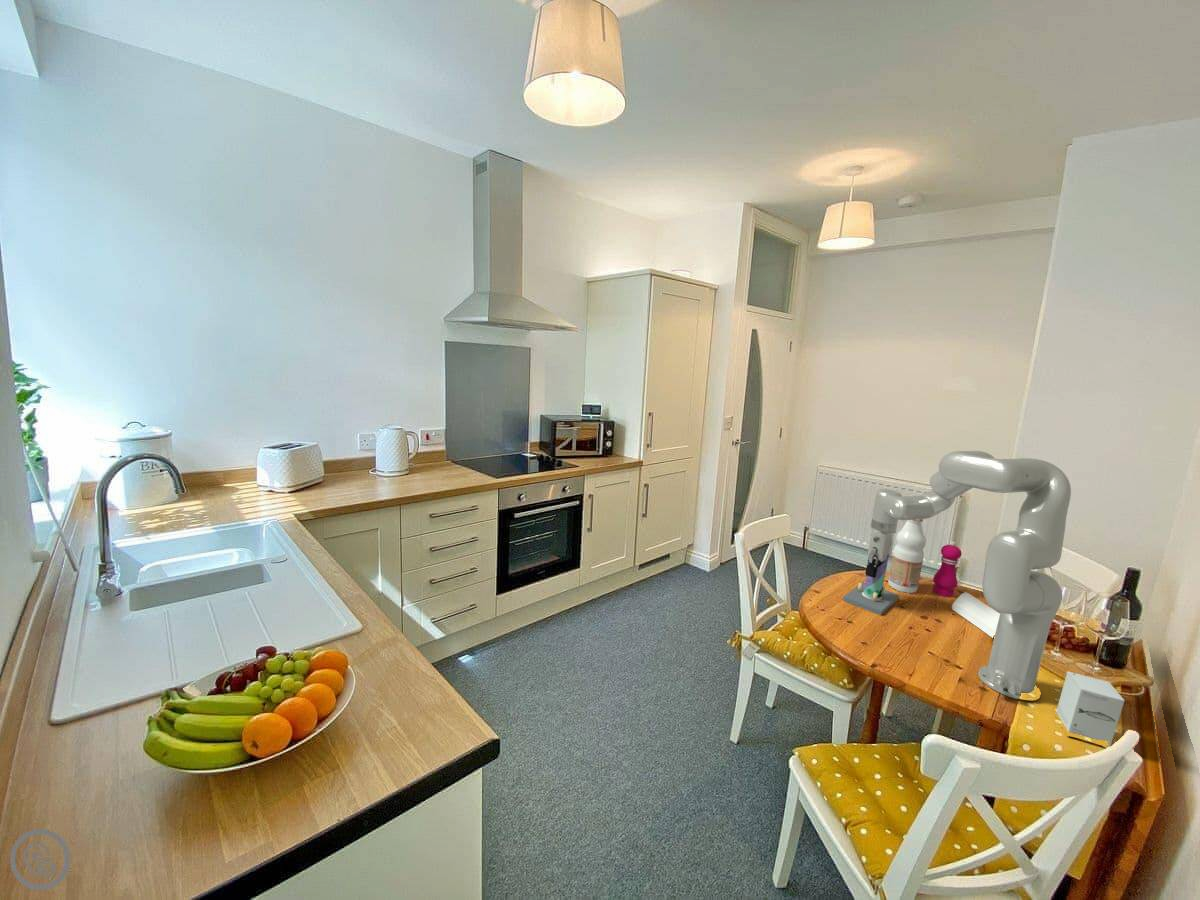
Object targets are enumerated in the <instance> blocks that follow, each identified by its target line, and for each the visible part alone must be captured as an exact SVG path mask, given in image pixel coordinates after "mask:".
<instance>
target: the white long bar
mask: <svg viewBox="0 0 1200 900" xmlns="http://www.w3.org/2000/svg"><path fill="white" fill-rule="evenodd" d="M951 610H953V611H954V612H955V613H957V614H958V615H959V616H961V617H962V618H964V619H966V620H967V621H968V622H969V623H971V624H973V625H974V626H975V627H976V628H979V630H980V631H982V632H983V633H985V634H987V636H989V637H990V638H992V639H993V636H994V635H995V633H996V628H997V624H998V620H999V616H1000V614H1001V612H999V611H996V610H995V609H993V608H992V607H991V606H990V605H988V604H986V603H985V602H983V601H981V600H980V599H978V598H976V597H975V596H974V595H972V594H970V593H969V592H966V591H965V592H962V593H960V595H959V596H958V597H957V598H956V600H954V602H953V603H952V605H951Z"/></svg>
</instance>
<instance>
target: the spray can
mask: <svg viewBox="0 0 1200 900" xmlns="http://www.w3.org/2000/svg"><path fill="white" fill-rule="evenodd" d="M888 552H889V551H888ZM874 557H875V556H874ZM888 557H889V553H888V555H887V559H886V560H885V561H881V560H879V562H878V564H877V567H878V569H877V575H876V578H873V577H870V576H867V575H866V574H865V586H864V591H863V594H864V595H865V596H866V597H868V598H871V599H873V594H874V592H876V593H878V595H877V600H878V599H881V595H882V590H883V587H884V584H885V579H886V578H885V577H886V573H887V568H888V562H889V558H890V557H889V558H888ZM876 558H878V557H876ZM873 560H874V559H873ZM874 561H875V562H876V560H874Z"/></svg>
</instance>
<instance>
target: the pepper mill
mask: <svg viewBox="0 0 1200 900" xmlns="http://www.w3.org/2000/svg"><path fill="white" fill-rule="evenodd" d="M940 549H941V550H940V554H941V555H942V556H941V559H940V561H941V564H940V568H939V569H938V570H937V572H935V574H934V576H933V578H932V580H933V581H932V582H933V583H934V584H933V587H932V591H933V592H934V593H935V594H936V595H939V596H943V597H946V598H949V597H953V596H954V594H955V590H954V589H956V588H957V587H958V578H957V575H956V566H957V565H958V563H959V559H960V558H961V557H962V550H961V549H960V547H958V546H957V543H956V541H950V542H949V544H944V545H943V546H942V547H941V548H940Z"/></svg>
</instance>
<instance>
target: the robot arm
mask: <svg viewBox="0 0 1200 900" xmlns="http://www.w3.org/2000/svg"><path fill="white" fill-rule="evenodd" d="M929 484H930V487H931V489H930V490H929V491H927V492H926V493H923V494H922V495H910V496H902V494H901V492H899V491H897V490H893V489H887V488H883V489H882V488H881V489H878V490H877V491H876V493H875V498H874V504H873V510H872V511H873V512H872V515H871V522H870V529H871V530H872V532H871V534H870V535H871V536H870V540H869V543H868V544H869V545H868V550H867V551H868V552H867V556H868V559H867V562H866V568H865V572H864V573H865V574H864V575H865V576H866V575H867V576H870V577H873V578H876V575H877V569H878V567H877V564H878V562H879V560H881V561H885V560H886V559H887V555H888V553H889V557H888V559H889V558H890V557H891V556H893V550H894V541H895V539H894V538H895V534H896V533H897V527H898V522H899V521H907V520H914V519H923V520H926V519H930V518H932V517H935V516H937V515H939V514H940V513H942V512H944V511H946V510H948V509H949V508H950V507H951V506H953V504H954V503H955V500H956V498H958V497H959V496H962V495H963V494H965V493H966V492H968V491H970V490H972V489H978V490H981V491H986V492H992V493H996V494H997V493H999V494H1009V493H1011V494H1012V493H1026V495H1027V496H1026V498H1025V500H1024V501H1023V503H1022V505H1021V506H1020V509H1019V512H1018V521H1017V525H1016V528H1015V530H1010V531H1004V532H1000V533H998V534H996V535H995V536H994V537H992V539H991V540H990V541H989V544H988V546H987V549H986V555H985V562H984V568H983V575H982V576H983V577H982V593H983V594H982V595H983V597H984V599H985V601H986V602H987V605H988V606H989V607H991V608H992V609H994V610H995V611H997V612H998V613H1000V616H999V620H998V624H997V628H996V633H995V637H994V639H993V642H992V647H991V649H990V655H989V660H988V664H987V665H984V666H981V667H979V669H978V673H977V674H978V678H979V679H980V680H981V682H983V684H985V685H986V686H988V687H989V688H990V689H992V690H994V691H996V692H998V693H999V694H1001V695H1004V696H1006V697H1008V698H1011V699H1014V700H1018V698H1019V697H1020V696H1021V693H1030V692H1032V691H1033V690H1034V687H1035V684H1036V682H1037V679H1038V675H1039V670H1040V667H1041V663H1042V659H1043V655H1044V651H1045V648H1046V644H1047V639H1048V636H1049V633H1050V630H1051V627H1052V624H1053V621H1054V619H1055V616H1056V614H1057V613H1058V611H1059V609H1060V608H1061V604H1062V601H1063V591H1062V588H1061V586H1060V584H1059V583H1058V581H1057V580H1056V579H1055V578H1054V577H1052V576H1050V575H1049V574H1047V573H1044V572H1042V571H1037V570H1042V569H1048V568H1052V567H1055V566H1056V565H1057V564H1058V563H1059V562H1060V561H1061V557H1062V552H1063V544H1064V540H1065V532H1066V526H1067V525H1066V523H1067V515H1068V511H1069V506H1070V501H1071V496H1072V495H1071V494H1072V489H1071V483H1070V480H1069V478H1068V477H1067V474H1065V472H1064V471H1063V470H1062V469H1060V468H1059V467H1057V466H1056V465H1055V464H1053V463H1051V462H1049V461H1046V460H1042V459H1038V458H1028V457H1027V458H1024V457H1023V458H1021V457H1019V458H995V457H994V456H993V455H992V454H991V453H988V452H986V451H982V450H981V451H980V450H956V451H951V452H949V453H947V454H945V455H944V456H943V457H942V458H941V459H940V461H939V463H938V471H936V472H935V473H933V474H932V475H931V476H930V479H929ZM888 551H889V552H888ZM874 556H875V557H874ZM876 557H878V558H876ZM873 559H874V560H876V562H875V561H874V560H873ZM1035 570H1036V571H1035Z"/></svg>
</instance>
